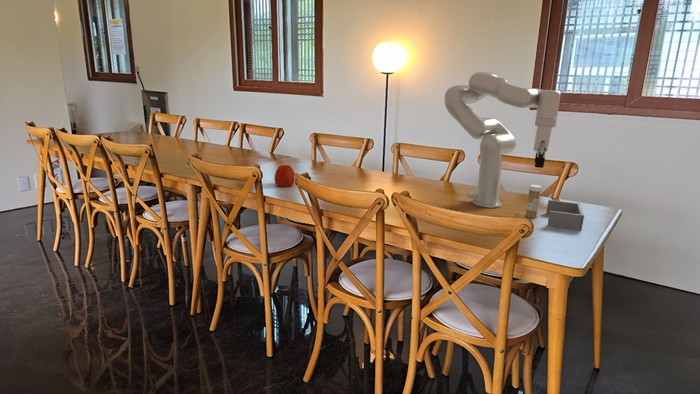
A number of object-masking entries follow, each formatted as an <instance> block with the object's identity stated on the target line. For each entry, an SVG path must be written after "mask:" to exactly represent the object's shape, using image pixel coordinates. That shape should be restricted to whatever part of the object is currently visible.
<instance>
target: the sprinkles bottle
mask: <svg viewBox="0 0 700 394" xmlns="http://www.w3.org/2000/svg"><path fill="white" fill-rule="evenodd" d="M541 192H542V186H541V185H538V184H530V185H529V186H528V197H527V203H526V209H525V215H524V216H525V218H528V219H536V218H537V217H538V216H537V214H538V209H539V203H540V197H541Z"/></svg>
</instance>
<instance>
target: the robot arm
mask: <svg viewBox="0 0 700 394" xmlns="http://www.w3.org/2000/svg"><path fill="white" fill-rule="evenodd" d="M561 94H562V93H561V91H560V90H554V89H541V88H536V87H535V88H534V87H533V88H532V87H531V88H529V87H526V88H524V87H519V86H516V85H512V84H509V81H508V80H507V79H506V78H504V77H499V76H498V75H496V74H495V73H493V72H488V71H487V72H484V71H483V72H482V71H481V72H480V71H478V72H475V73H473V74H472V75H471V76H470V77H469V79H468V85H465V84H461V85H458V84H456V85H453V86H450V87H449V88H448V89H447V90H446V91H445V94H444V106H445V109H446V110H447V111H448V113H449V114H450V116H452V117H453V118H454V119H455V121H456V122H458V124H459V125H460V126H461V127H462V129H464V130H465V131H466V133H468V134H469V136H471V138H472V139H474V140H481V141H480V143H479V156H480V157H479V159H480V160H479V161H480V162H479V169H478V179H477V190H476V192H466V194H465V195H466V198H470V199H472V201H471V202H472V204H473V205H475V206H478V207H482V208H493V209H494V208H499V207H501V206H502V202H501V201H500V200H499V196H500V188H501V182H502V181H501V180H502V174H503V173H502V172H503V161H502V155H509V154H510V153H512V152H513V151H514V150H515V148H516V145H517V141H516V139H515V137H514V136H513V134H512V133H511V132H510V131H509V130H508V129H507V128H506V127H505V126H504V125H503V124H502V123H501V122H500V121H499V120H498V119H496V118H493V117H489V116H488V117H484V116H483V117H482V116H480V115H479V114H478V113H477V112H476V111H475V110H474V109H473V108H472V107H470V106H469V105H470V104H475V103H476V102H478V101H480V100H482V99H483V98H485V97H487V96H488V97H490V98H494V99H496V100H498V101H499V102H500V103H503V104H506V105H509V106H512V107H514V108H519V109H520V108H521V109H526V108H528V109H529V108H536V114H535V120H534V121H535V122H534V126H535V127H536V131H535V136H534V137H535V138H534V142H533V143H534V144H533V151H534V152H536V153H535V157H534V167H535V168H539V169H543V168H544V166H545V161H546V160H545V159H546V157H545V156H546V153H547V152H548V150H549V149H548V148H549V145H550V142H551V135H552V129H553V128H555V127H556V125H557V121H558V120H557V119H558V113H559V109H560V108H559V107H560V101H561Z"/></svg>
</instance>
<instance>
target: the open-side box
mask: <svg viewBox="0 0 700 394" xmlns="http://www.w3.org/2000/svg"><path fill="white" fill-rule="evenodd" d="M545 213H546V214H547V215H548V219H547V226H548V227H554V228H562V229H569V230H573V231H574V230H575V231H582V229H583V224H584V218H585V214H584V211H583V209H582V207H581V203H579V202H570V201H562V200H554V199H548V201H547V207H546V212H545Z"/></svg>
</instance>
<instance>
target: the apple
mask: <svg viewBox="0 0 700 394" xmlns="http://www.w3.org/2000/svg"><path fill="white" fill-rule="evenodd" d="M294 175H295V176H296V173H295V171H294V169H293V167H292V166H290V165H289V164H288V165H287V164H286V165H284V164H283V165H282V164H281V165H279V166H278V167H277V169H276V171H275V173H274V182H275V184H276V186H278V187H280V188H289V187H292V186H293V185H294V184H295V182H294Z"/></svg>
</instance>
